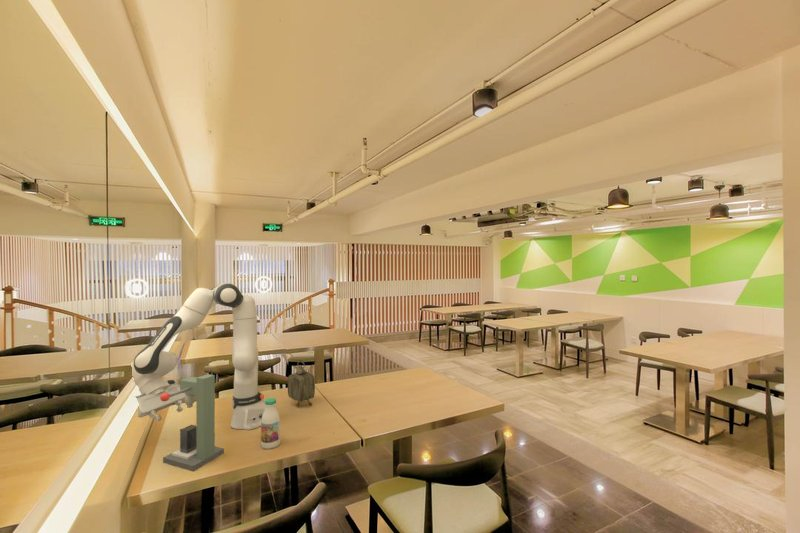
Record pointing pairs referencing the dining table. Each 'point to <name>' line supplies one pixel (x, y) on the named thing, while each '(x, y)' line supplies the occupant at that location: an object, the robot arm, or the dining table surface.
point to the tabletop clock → (301, 385)
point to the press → (198, 422)
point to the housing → (188, 439)
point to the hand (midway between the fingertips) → (170, 415)
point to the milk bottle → (270, 425)
